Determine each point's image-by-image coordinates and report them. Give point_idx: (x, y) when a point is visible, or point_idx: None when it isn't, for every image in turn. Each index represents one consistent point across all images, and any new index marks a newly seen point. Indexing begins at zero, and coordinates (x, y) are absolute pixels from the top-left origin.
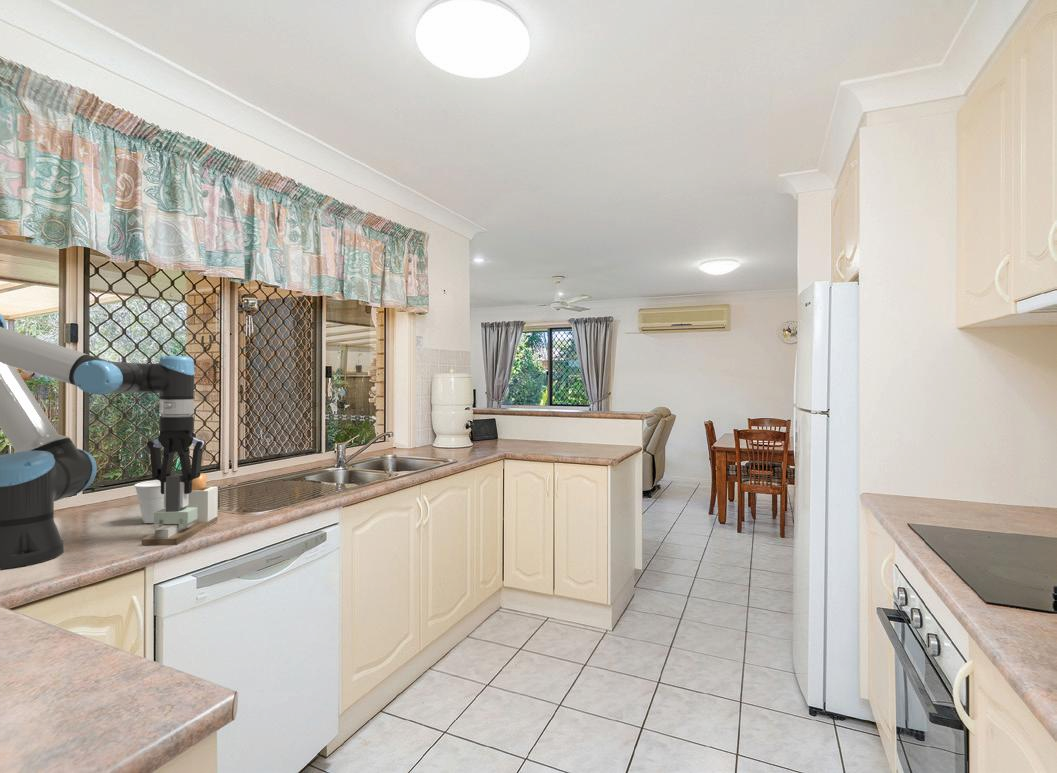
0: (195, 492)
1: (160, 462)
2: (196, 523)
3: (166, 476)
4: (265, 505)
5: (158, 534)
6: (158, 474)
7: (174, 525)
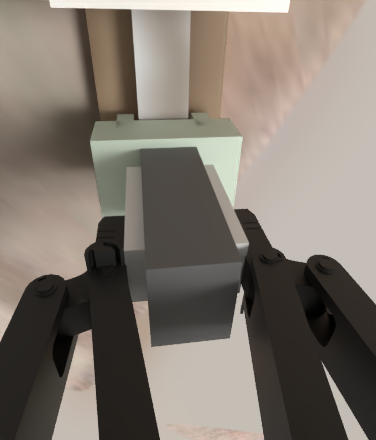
0: (196, 8)
1: (30, 414)
2: (191, 36)
3: (152, 344)
4: None
5: None
6: (62, 328)
7: None
